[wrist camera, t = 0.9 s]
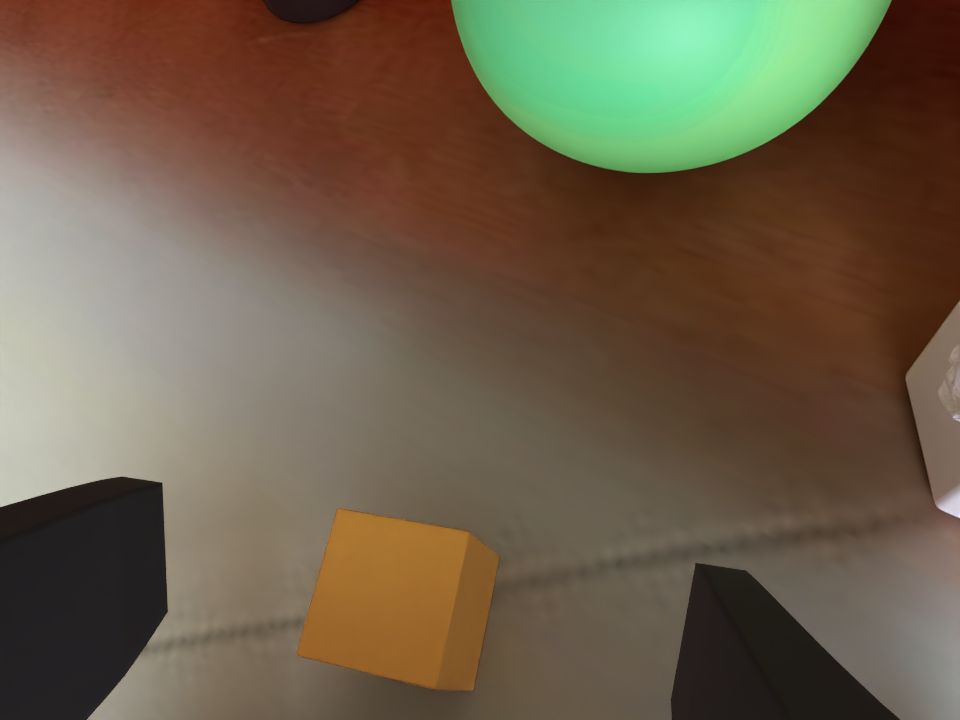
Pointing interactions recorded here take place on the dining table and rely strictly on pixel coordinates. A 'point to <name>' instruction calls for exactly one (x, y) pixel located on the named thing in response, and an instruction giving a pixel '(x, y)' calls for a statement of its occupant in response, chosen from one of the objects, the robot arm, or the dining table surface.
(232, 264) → the dining table surface
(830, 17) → the toy bird
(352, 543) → the block
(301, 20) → the bottle
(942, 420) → the jar
